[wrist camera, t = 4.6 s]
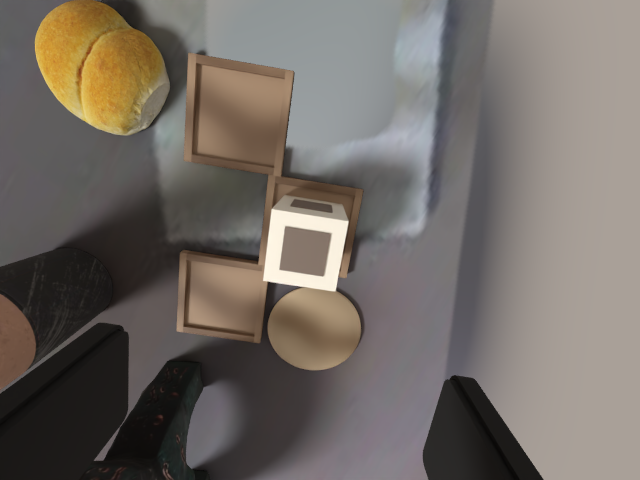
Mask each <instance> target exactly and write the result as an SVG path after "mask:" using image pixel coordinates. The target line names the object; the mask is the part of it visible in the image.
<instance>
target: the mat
mask: <svg viewBox="0 0 640 480" xmlns="http://www.w3.org/2000/svg"><path fill="white" fill-rule="evenodd" d="M360 335H361V324H360V319H359V315H358V313H357V310H356V308H355V307H354V305H353V304H352V303H351V302H350V300H349V299H347V298H346V297H345V296H344V295H342V294H341V293H339V292H337V291H335V292H334V291H327V290H321V289H314V288H307V287H301V288H297V289H295V290H292V291H291V292H289V293H287V294H286V295H284V296H283V297H282V298H281V299H280V300H279V301H278V302H277V303H276V305H275V306H274V308H273V310H272V312H271V314H270V317H269V321H268V336H269V340H270V342H271V345H272V347H273V348H274V350H275V351H276V353H277V354H278V355H279V356H280V357H281V358H282V359H283V360H285V361H286V362H288V363H289V364H291V365H293V366H295V367H298V368H301V369H306V370H324V369H328V368H332V367H334V366H337V365H338V364H340V363H342V362H343V361H345V360H346V359H347V358H348V357H349V356H350V355H351V354H352V353H353V352H354V350H355V349H356V347H357V345H358V343H359V340H360Z"/></svg>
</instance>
